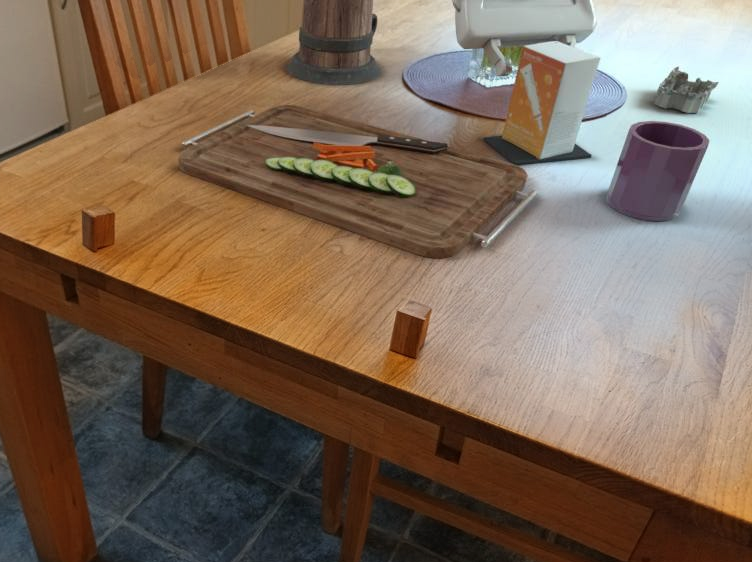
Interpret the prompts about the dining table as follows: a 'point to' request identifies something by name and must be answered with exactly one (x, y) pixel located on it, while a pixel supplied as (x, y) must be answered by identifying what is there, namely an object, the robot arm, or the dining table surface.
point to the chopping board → (360, 177)
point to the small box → (549, 98)
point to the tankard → (336, 42)
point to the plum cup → (656, 170)
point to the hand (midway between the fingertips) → (535, 72)
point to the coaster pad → (523, 157)
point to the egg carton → (683, 92)
